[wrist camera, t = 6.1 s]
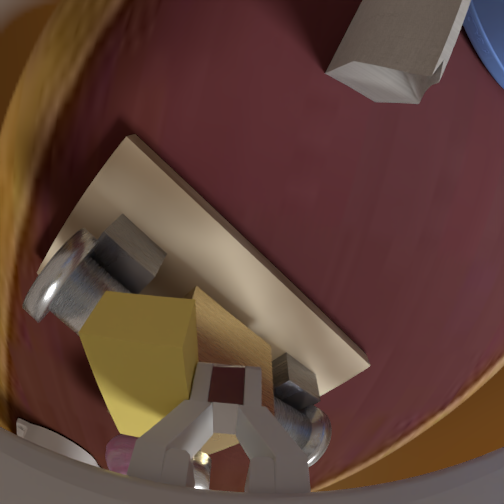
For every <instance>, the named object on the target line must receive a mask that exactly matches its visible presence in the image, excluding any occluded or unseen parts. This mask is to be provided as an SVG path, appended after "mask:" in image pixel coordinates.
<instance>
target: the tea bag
mask: <svg viewBox="0 0 504 504" xmlns="http://www.w3.org/2000/svg"><path fill="white" fill-rule="evenodd" d="M470 2H471V0H362V2H361V4H360V6H359V8H358V10H357V12H356V14H355V16H354V18H353V20H352V21H351V23H350V25H349V27H348V29H347V31H346V33H345V35H344V37H343V39H342V41H341V43H340V45H339V47H338V49H337V51H336V53H335V55H334V57H333V59H332V60H331V62H330V64H329V66H328V68H327V70H326V72H325V74H327V75H329V76H331V77H333V78H334V79H336V80H338V81H340V82H342V83H344V84H345V85H347V86H349V87H351V88H352V89H354V90H356V91H357V92H359V93H361V94H363V95H364V96H366V97H368V98H369V99H371V100H372V101H374V102H390V103H412V104H419V102H420V101H421V99H422V97H423V95H424V93H425V91H426V90H427V89H428V88H429V87H430V86H431V85H433V84H436V83H439V81H440V79H441V76H442V74H443V72H444V70H445V67H446V65H447V62H448V60H449V58H450V55H451V53H452V50H453V48H454V45H455V43H456V40H457V38H458V35H459V32H460V30H461V27H462V24H463V22H464V19H465V16H466V13H467V10H468V8H469V5H470Z"/></svg>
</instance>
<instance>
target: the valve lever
mask: <svg viewBox="0 0 504 504" xmlns="http://www.w3.org/2000/svg"><path fill="white" fill-rule="evenodd" d="M79 336H80V339H81V342H82V345H83V347H84V350H85V353H86V356H87V358H88V361H89V364H90V366H91V369H92V372H93V374H94V377H95V379H96V382H97V384H98V386H99V389H100V391H101V394H102V396H103V398H104V400H105V403H106V405H107V407H108V409H109V411H110V414H111V416H112V418H113V420H114V422H115V424H116V426H117V428H118V430H119V432H120V434H125V435H129V436H134V437H141V436H142V435H143V434H144V433H146V432H147V431H148V430H149V429H151V428H152V427H153V426H154V425H155V424H157V423H158V422H159V421H160V420H161V419H163V418H164V417H165V416H166V415H167V414H169V413H170V412H171V411H172V410H173V409H174V408H176V407H177V406H178V405H179V404H180V403H181V402H183V401H184V400H190V395H191V390H192V385H193V380H194V375H195V370H196V365H197V363H198V361H199V360H198V343H197V325H196V302H195V299H184V298H173V297H162V296H151V295H141V294H132V293H122V292H113V291H105V293H104V294H103V296H102V297H101V299H100V300H99V302H98V303H97V305H96V306H95V308H94V309H93V311H92V312H91V314H90V315H89V317H88V318H87V320H86V322H85V323H84V325H83V326H82V328H81V329H80V331H79ZM191 463H192V468H193V473H194V478H195V488H198V489H207V490H209V481H210V471H211V458H210V457H209V456H208V455H207V454H206V453H204V452H202V451H200V450H199V451H198V452H197V453H196V454H195V455H194V456H193V458H192V459H191Z"/></svg>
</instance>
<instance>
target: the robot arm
mask: <svg viewBox="0 0 504 504" xmlns="http://www.w3.org/2000/svg"><path fill="white" fill-rule="evenodd" d="M16 425H17V435H15V434H13V433H11V432H9V431H7V430H6V429H4V428H2V427H0V504H504V447H502V448H500V449H497V450H495V451H493V452H490V453H488V454H485V455H483V456H480V457H477V458H475V459H472V460H469V461H466V462H463V463H461V464H458V465H454V466H452V467H448V468H445V469H442V470H439V471H435V472H431V473H427V474H424V475H420V476H416V477H412V478H408V479H403V480H399V481H394V482H389V483H384V484H378V485H372V486H365V487H359V488H351V489H343V490H333V491H322V492H310V481H309V470H308V459H307V455H306V454H305V453H304V452H303V451H302V449H301V448H300V447H299V446H298V445H297V444H296V442H295V441H294V440H293V439H292V438H291V436H290V435H289V434H288V433H287V432H286V430H285V429H284V428H283V427H282V426H281V424H280V423H279V422H278V421H277V419H276V418H275V417H274V416H273V414H272V413H271V412H270V411H269V409H268V408H267V407H264V406H262V372H261V367H254V366H240V365H226V364H216V363H206V362H199V361H198V363H197V365H196V370H195V375H194V380H193V385H192V390H191V395H190V400H184V401H183V402H181V403H180V404H179V405H178V406H177V407H176V408H174V409H173V410H172V411H171V412H170V413H169V414H167V415H166V416H165V417H164V418H163V419H161V420H160V421H159V422H158V423H157V424H155V425H154V426H153V427H152V428H151V429H149V430H148V431H147V432H146V433H144V434H143V435H142V436H141V437H139V438H138V439H137V440H136V443H135V446H134V449H133V453H132V456H131V460H130V464H129V467H128V471H127V474H126V475H125V474H121V473H117V472H113V471H110V470H106V469H103V468H100V467H99V466H98V464H97V462H96V461H95V459H94V458H93V457H92V456H91V455H90V454H89V453H87V452H86V451H85V450H83V449H82V448H81V447H79V446H78V445H76V444H75V443H73V442H71V441H70V440H68V439H66V438H64V437H63V436H61V435H59V434H57V433H55V432H53V431H51V430H48V429H46V428H43V427H40V426H37V425H33V424H30V423H28V422H26V421H25V420H22V419H20V418H18V419H17V422H16ZM213 433H223V434H233V435H236V437H237V439H238V441H239V442H240V444H241V446H242V447H243V449H244V451H245V452H246V454H247V456H248V457H249V459H250V465H249V469H248V474H247V479H246V484H245V493H244V492H228V491H216V490H207V489H198V488H195V478H194V473H193V468H192V463H191V459H192V458H193V456H194V455H195V454H196V453H197V452H198V451H199V450H200V449H201V448H202V446H203V445H204V444H205V443H206V442H207V441H208V440H209V438H210V437H211V436H212V435H213Z"/></svg>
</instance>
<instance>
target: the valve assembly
mask: <svg viewBox="0 0 504 504" xmlns="http://www.w3.org/2000/svg"><path fill="white" fill-rule="evenodd" d="M37 274H38V275H39V276H38V277H37V279H36V280H35V282H34V283H33V285H32V287H31V288H30V290H29V292H28V294H27V296H26V298H25V300H24V303H23V309H24V310H25V311H26V312H28V313H29V314H30V315H31V316H32V317H33V318H34V319H35V320H36V321H37V322H38V323H39V322H40V321H41V320H42V319H43V318H44V317H45V316H46V314H47V313H48V312H49V311H51V312H52V313H53V314H54V315H55V316H57V317H58V318H59V319H60V320H61V321H62V322H64V323H65V324H66V325H67V326H68V327H69V328H71V329H72V330H73V331H74V332H75V333H77V334H78V335H79V331H80V329H81V328H82V326H83V325H84V323H85V322H86V320H87V318H88V317H89V315H90V314H91V312H92V311H93V309H94V308H95V306H96V305H97V303H98V302H99V300H100V299H101V297H102V296H103V294H104V293H105V291H113V292H122V293H132V294H141V295H151V296H162V297H173V298H184V299H195V302H196V325H197V343H198V360H199V362H206V363H216V364H226V365H240V366H254V367H261V372H262V406H264V407H267V408H268V409H269V411H270V412H271V413H272V414H273V416H274V417H275V418H276V419H277V421H278V422H279V423H280V424H281V426H282V427H283V428H284V429H285V430H286V432H287V433H288V434H289V435H290V436H291V438H292V439H293V440H294V441H295V442H296V444H297V445H298V446H299V447H300V448H301V449H302V451H303V452H304V453H305V454H306V455H307V459H308V467H310V466H311V465H313V464H314V463H315V462H317V461H318V460H319V459H320V457H321V456H322V455H323V454H324V452H325V451H326V449H327V447H328V444H329V442H330V438H331V423H330V420H329V418H328V416H327V415H326V414H325V413H324V412H323V411H322V410H320V409H319V408H317V407H315V406H314V404H316V403H318V402H320V396H321V395H323V394H325V393H327V392H328V391H330V390H332V389H334V388H335V387H337V386H339V385H340V384H342V383H344V382H345V381H347V380H349V379H350V378H352V377H354V376H355V375H357V374H358V373H360V372H362V371H363V370H365V369H366V368H368V367H369V366H370V363H369V360H368V357H367V355H366V354H365V353H364V352H363V351H362V350H361V349H360V348H359V347H358V346H357V345H356V344H355V343H354V342H353V341H352V340H351V339H350V338H349V337H348V336H347V335H346V334H345V333H344V332H343V331H342V330H341V329H340V328H339V327H337V326H336V325H335V324H334V323H333V322H332V321H331V320H330V319H329V318H328V317H327V316H326V315H325V314H324V313H323V312H322V311H321V310H320V309H319V308H318V307H317V306H316V305H315V304H314V303H313V302H311V301H310V300H309V299H308V298H307V297H306V296H305V295H304V294H303V293H302V292H301V291H300V290H299V289H298V288H297V287H296V286H295V285H294V284H293V283H292V282H291V281H290V280H289V279H287V278H286V277H285V276H284V275H283V274H282V273H281V272H280V271H279V270H278V269H277V268H276V267H275V266H274V265H273V264H272V263H271V262H270V261H269V260H268V259H267V258H266V257H264V256H263V255H262V254H261V253H260V252H259V251H258V250H257V249H256V248H255V247H254V246H253V245H252V244H251V243H250V242H249V241H248V240H247V239H246V238H245V237H244V236H242V235H241V234H240V233H239V232H238V231H237V230H236V229H235V228H234V227H233V226H232V225H231V224H230V223H229V222H228V221H227V220H226V219H225V218H224V217H222V216H221V215H220V214H219V213H218V212H217V211H216V210H215V209H214V208H213V207H212V206H211V205H210V204H209V203H208V202H207V201H206V200H205V199H204V198H202V197H201V196H200V195H199V194H198V193H197V192H196V191H195V190H194V189H193V188H192V187H191V186H190V185H189V184H188V183H187V182H186V181H185V180H183V179H182V178H181V177H180V176H179V175H178V174H177V173H176V172H175V171H174V170H173V169H172V168H171V167H170V166H169V165H168V164H167V163H165V162H164V161H163V160H162V159H161V158H160V157H159V156H158V155H157V154H156V153H155V152H154V151H153V150H152V149H151V148H150V147H149V146H147V145H146V144H145V143H144V142H143V141H142V140H141V139H140V138H139V137H138V136H137V135H136V134H133V135H129V136H126V138H125V139H124V140H123V141H122V142H121V144H120V145H119V146H118V148H117V149H116V150H115V151H114V153H113V154H112V155H111V157H110V158H109V159H108V161H107V162H106V163H105V165H104V166H103V167H102V169H101V170H100V171H99V173H98V174H97V176H96V177H95V178H94V180H93V181H92V183H91V184H90V186H89V187H88V188H87V190H86V191H85V193H84V194H83V196H82V197H81V199H80V200H79V202H78V203H77V205H76V206H75V208H74V210H73V211H72V213H71V214H70V216H69V217H68V219H67V221H66V222H65V224H64V225H63V227H62V229H61V230H60V232H59V234H58V236H57V237H56V239H55V241H54V242H53V244H52V246H51V248H50V249H49V251H48V253H47V255H46V257H45V258H44V260H43V262H42V264H41V266H40V268H39V270H38V272H37ZM107 412H109V413H110V411H109V409H108V411H107ZM238 443H240V442H239V441H238V439H237V437H236V435H233V434H223V433H213V435H212V436H211V437H210V438H209V440H208V441H207V442H206V443H205V444H204V445H203V446H202V448H201V449H200V451H202V452H204V453H206V454H207V455H209V454H212V453H215V452H217V451H220V450H223V449H225V448H228V447H231V446H233V445H236V444H238Z"/></svg>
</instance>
